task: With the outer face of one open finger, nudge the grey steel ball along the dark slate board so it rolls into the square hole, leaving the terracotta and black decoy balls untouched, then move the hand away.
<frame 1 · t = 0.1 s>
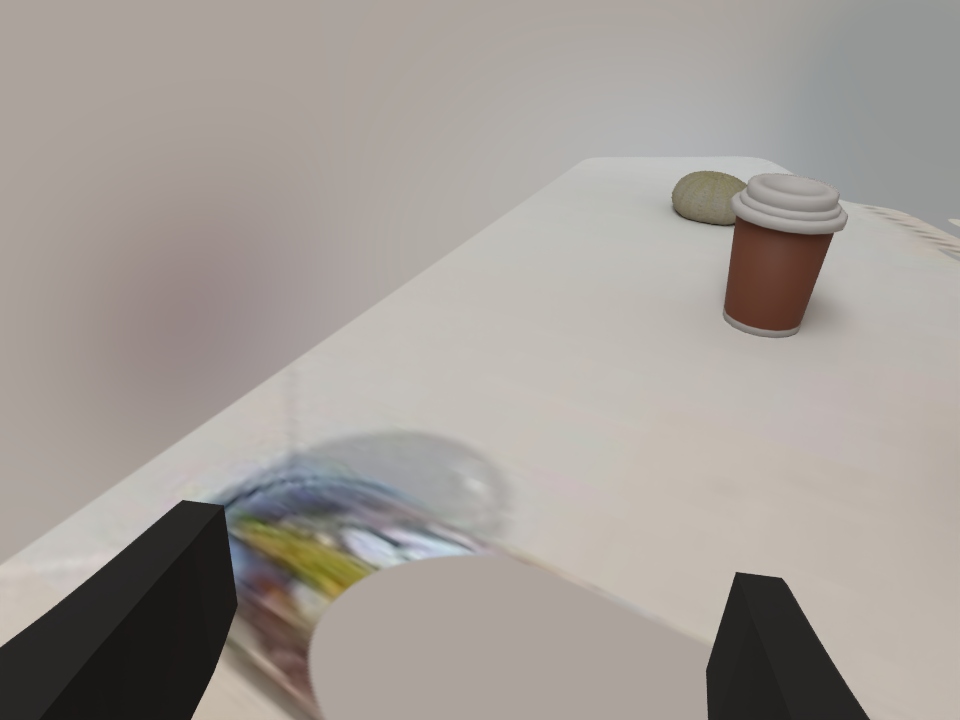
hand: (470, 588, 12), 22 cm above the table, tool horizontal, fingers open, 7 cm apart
sea urchin shell: (708, 217, 99), on the table
coffee cup: (760, 323, 74), on the table
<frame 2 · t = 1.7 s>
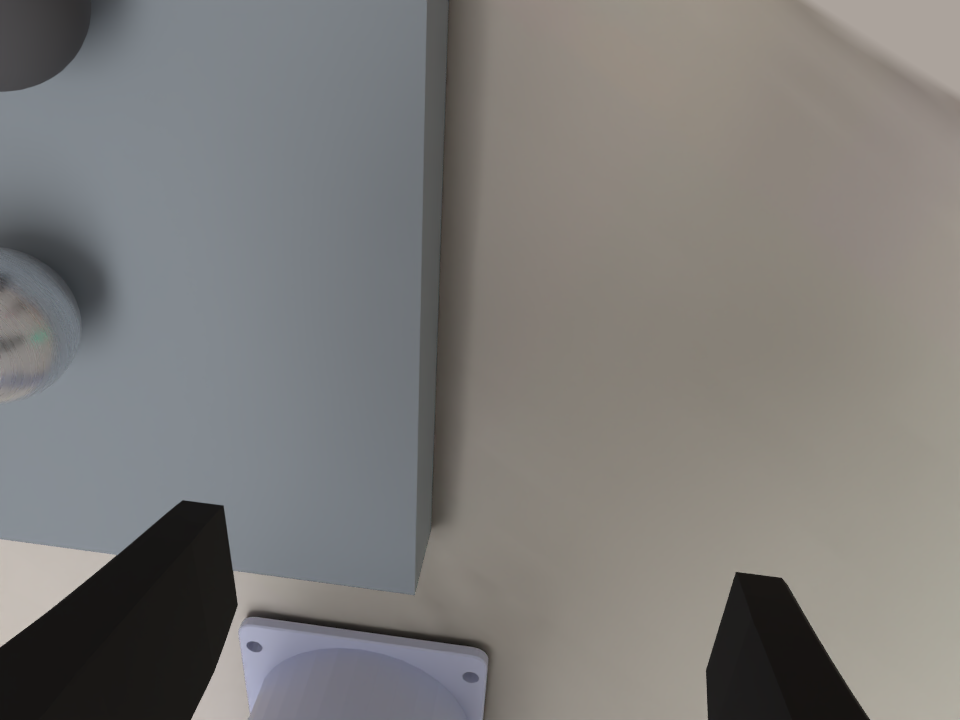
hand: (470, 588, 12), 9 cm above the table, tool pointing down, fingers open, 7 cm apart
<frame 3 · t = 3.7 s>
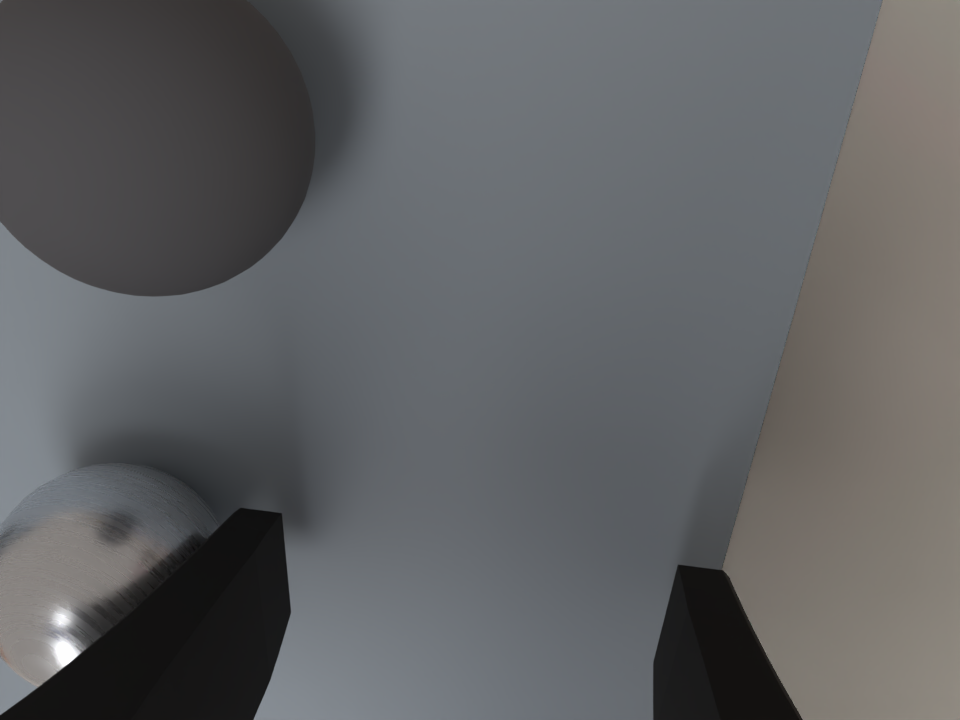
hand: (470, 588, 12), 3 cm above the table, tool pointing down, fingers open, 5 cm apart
board: (96, 397, 16), on the table
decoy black: (149, 133, 8), point 4 cm above the table, touching board
steel ball: (111, 577, 12), point 4 cm above the table, touching board, gripper
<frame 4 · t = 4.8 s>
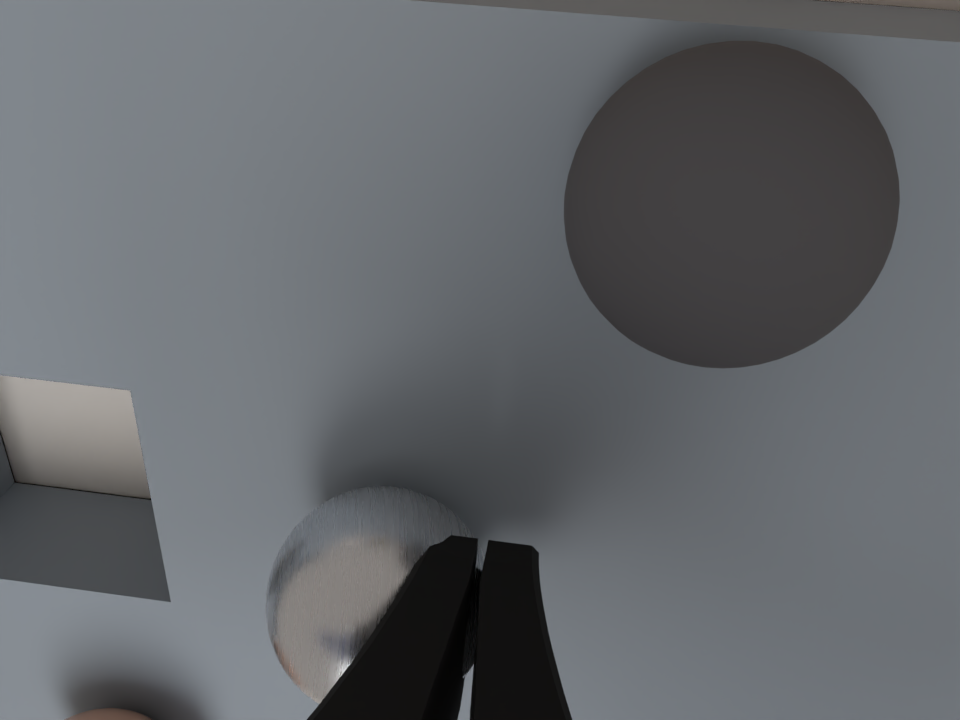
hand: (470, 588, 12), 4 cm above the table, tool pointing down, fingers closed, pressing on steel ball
board: (407, 441, 16), on the table
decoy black: (722, 209, 9), point 4 cm above the table, touching board
steel ball: (380, 598, 12), point 4 cm above the table, tilted 77°, touching board, gripper
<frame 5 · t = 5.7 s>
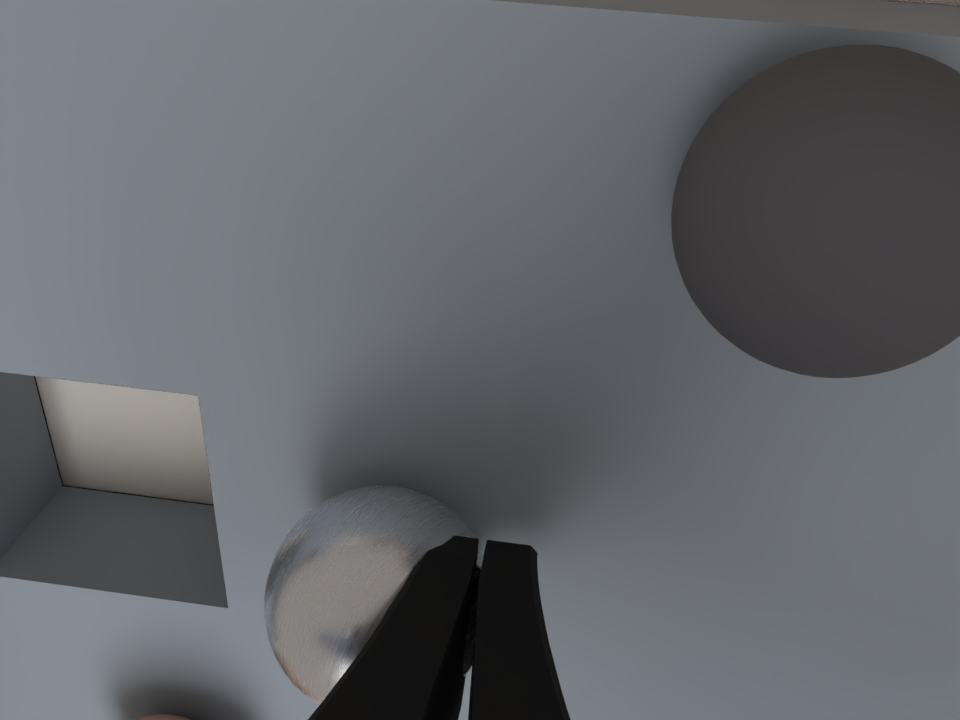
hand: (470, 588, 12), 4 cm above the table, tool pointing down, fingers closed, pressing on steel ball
board: (465, 446, 16), on the table
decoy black: (836, 216, 8), point 4 cm above the table, touching board
steel ball: (379, 598, 12), point 4 cm above the table, tilted 116°, touching board, gripper
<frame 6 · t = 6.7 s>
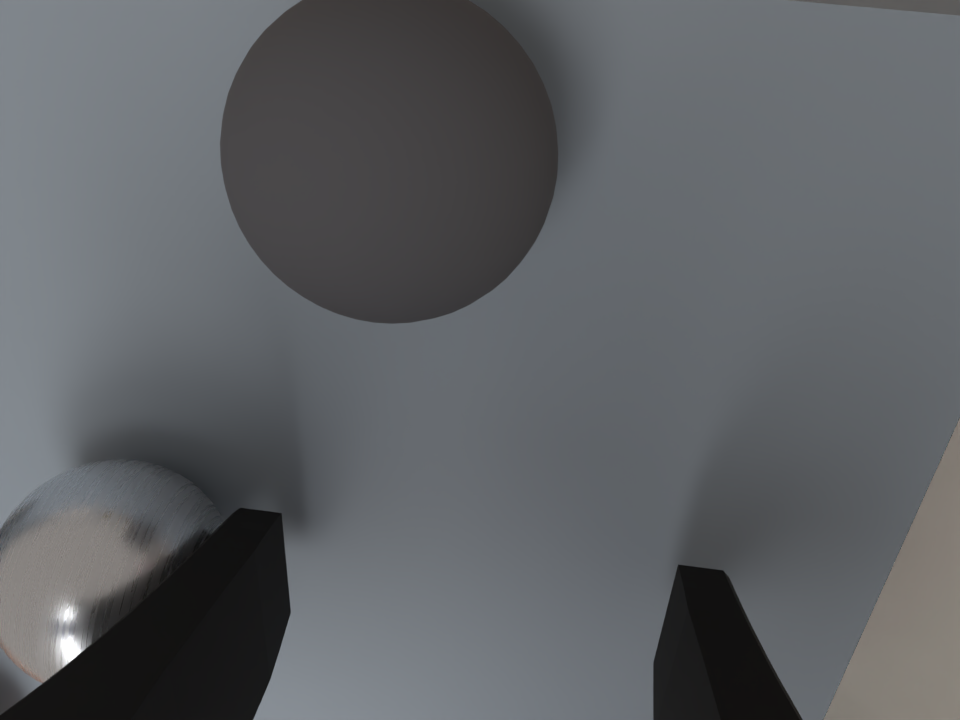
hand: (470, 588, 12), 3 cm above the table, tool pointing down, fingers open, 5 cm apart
board: (219, 410, 15), on the table
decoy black: (392, 158, 8), point 4 cm above the table, touching board
steel ball: (115, 573, 12), point 4 cm above the table, tilted 88°, touching board, gripper
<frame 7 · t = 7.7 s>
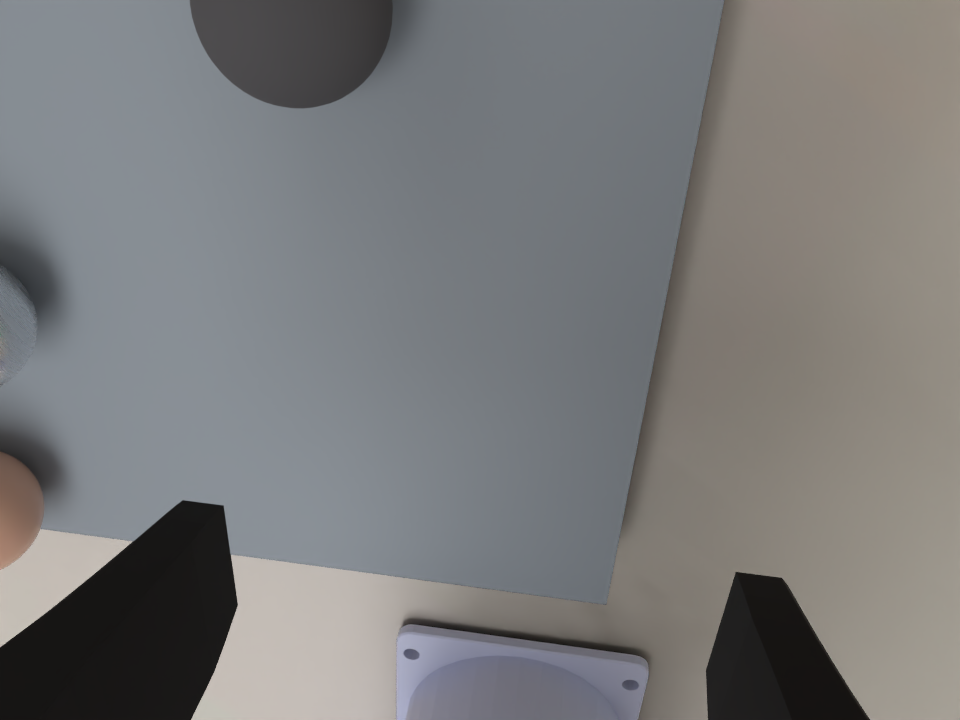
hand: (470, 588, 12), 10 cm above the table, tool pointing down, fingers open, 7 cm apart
board: (203, 243, 21), on the table
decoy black: (293, 5, 14), point 4 cm above the table, touching board
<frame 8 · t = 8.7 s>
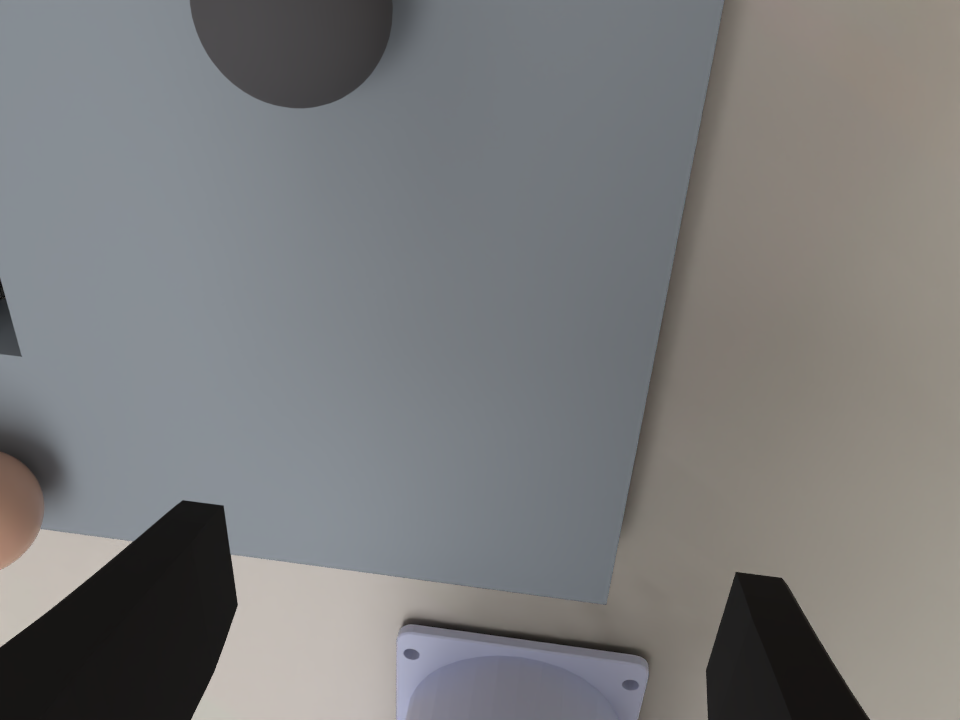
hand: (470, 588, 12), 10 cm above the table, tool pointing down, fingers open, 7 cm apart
board: (203, 243, 21), on the table
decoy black: (293, 5, 14), point 4 cm above the table, touching board
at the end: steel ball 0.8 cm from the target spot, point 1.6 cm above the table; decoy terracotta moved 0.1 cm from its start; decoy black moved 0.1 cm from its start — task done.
